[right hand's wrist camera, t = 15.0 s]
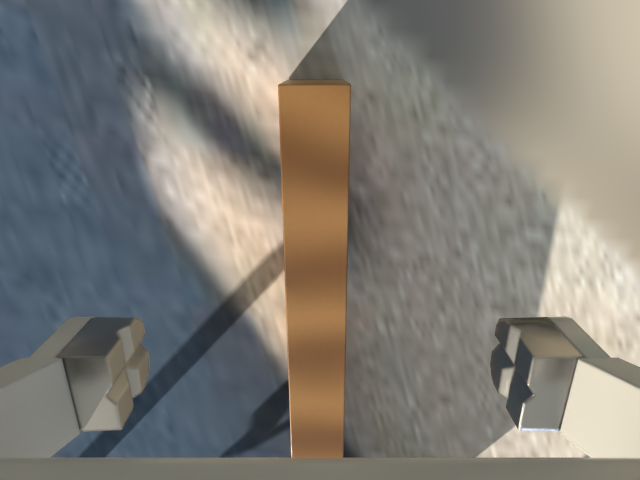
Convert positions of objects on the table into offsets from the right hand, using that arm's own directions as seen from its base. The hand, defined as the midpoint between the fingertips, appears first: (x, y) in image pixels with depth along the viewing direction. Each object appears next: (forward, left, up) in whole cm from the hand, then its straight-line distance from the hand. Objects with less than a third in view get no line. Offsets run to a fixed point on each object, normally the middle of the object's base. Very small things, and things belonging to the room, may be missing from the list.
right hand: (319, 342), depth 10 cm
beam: (+18, -20, -32) cm, 42 cm away
